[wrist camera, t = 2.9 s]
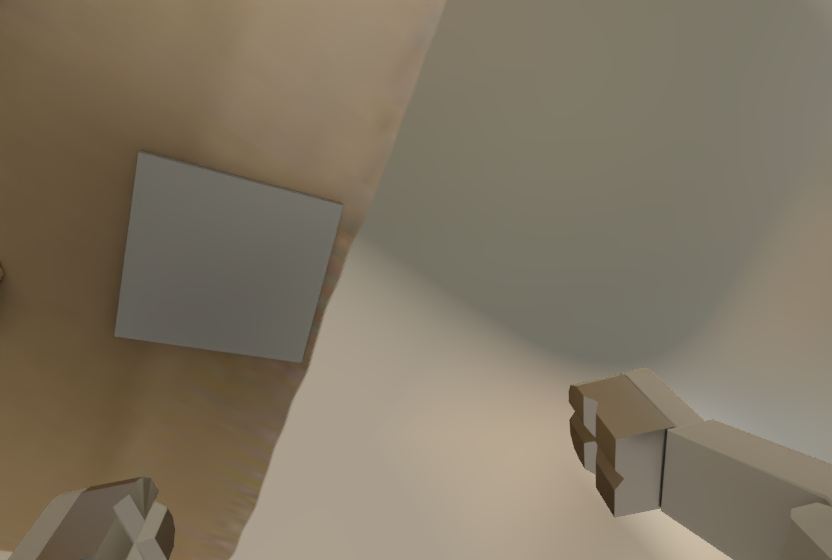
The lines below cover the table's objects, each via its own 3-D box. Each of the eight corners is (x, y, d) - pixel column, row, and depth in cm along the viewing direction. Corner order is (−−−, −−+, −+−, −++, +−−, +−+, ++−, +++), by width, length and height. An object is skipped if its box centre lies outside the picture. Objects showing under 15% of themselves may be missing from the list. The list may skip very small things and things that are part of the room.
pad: (117, 331, 33) (114, 336, 32) (142, 150, 29) (138, 152, 28) (301, 357, 37) (301, 362, 36) (342, 203, 33) (343, 205, 33)
